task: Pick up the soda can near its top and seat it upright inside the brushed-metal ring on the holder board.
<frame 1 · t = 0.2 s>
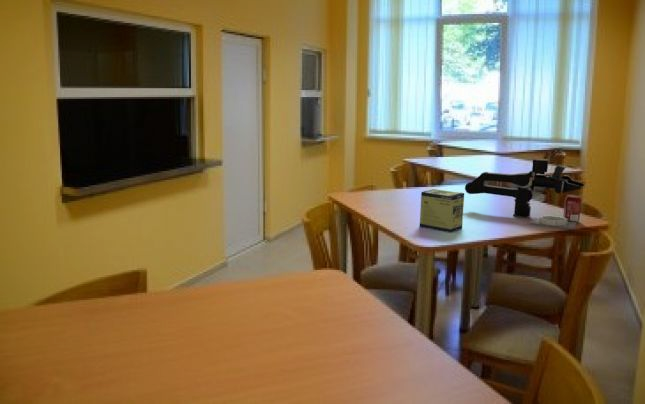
hand: (582, 186, 263), 17 cm above the table, tool horizontal, fingers open, 9 cm apart
holder: (552, 224, 262), on the table
protein box: (440, 228, 253), on the table
soda can: (570, 221, 268), on the table
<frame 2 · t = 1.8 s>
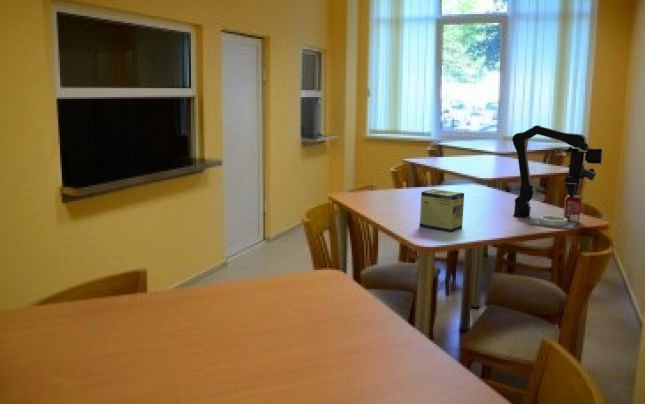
hand: (573, 196, 266), 12 cm above the table, tool pointing down, fingers open, 9 cm apart
nothing on the table moved.
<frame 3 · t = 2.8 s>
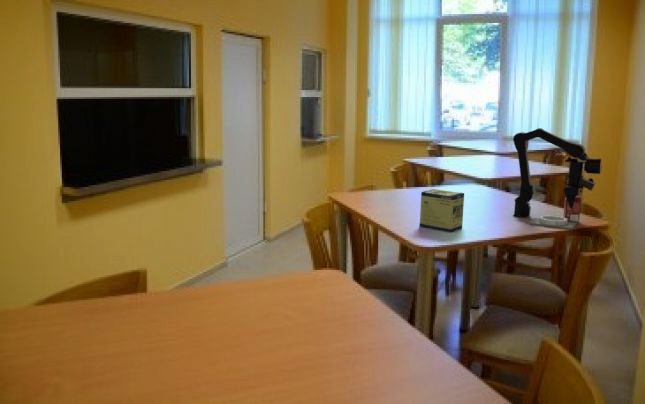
hand: (572, 206, 267), 7 cm above the table, tool pointing down, fingers closed on soda can, 7 cm apart
soda can: (570, 221, 268), on the table, touching gripper
everything else where it was.
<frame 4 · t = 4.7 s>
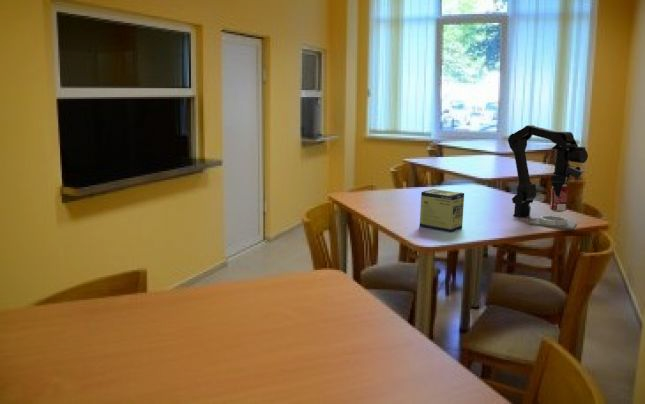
hand: (559, 195, 260), 13 cm above the table, tool pointing down, fingers closed on soda can, 7 cm apart
soda can: (557, 211, 262), point 6 cm above the table, touching gripper
everything else where it was.
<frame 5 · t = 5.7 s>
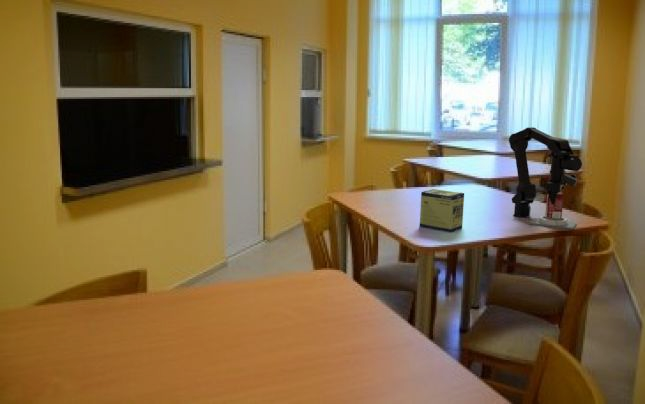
hand: (554, 203, 260), 10 cm above the table, tool pointing down, fingers closed on soda can, 7 cm apart
soda can: (553, 219, 261), point 2 cm above the table, touching gripper
everything else where it was.
when the fingers open (8 cm above the table, at t = 6.5 s): soda can drops 1 cm, resting in holder.
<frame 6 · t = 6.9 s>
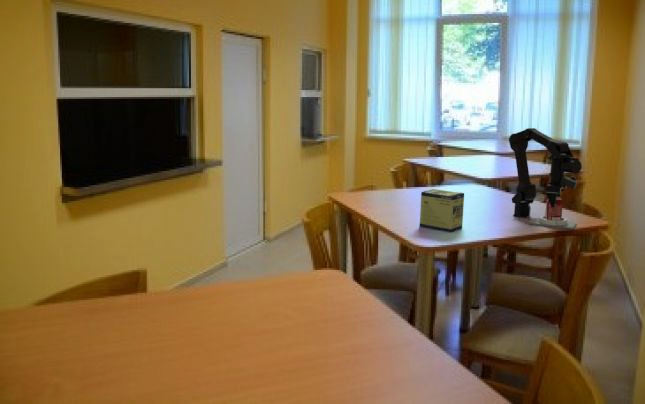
hand: (554, 205, 260), 8 cm above the table, tool pointing down, fingers open, 9 cm apart
soda can: (552, 224, 262), resting in holder
everything else where it was.
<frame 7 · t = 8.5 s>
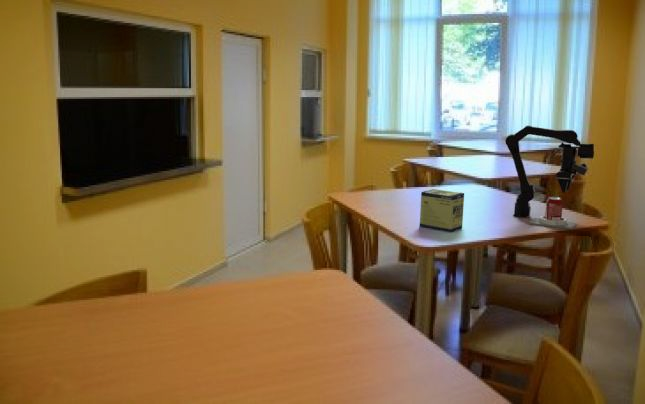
hand: (565, 191, 270), 13 cm above the table, tool pointing down, fingers open, 9 cm apart
nothing on the table moved.
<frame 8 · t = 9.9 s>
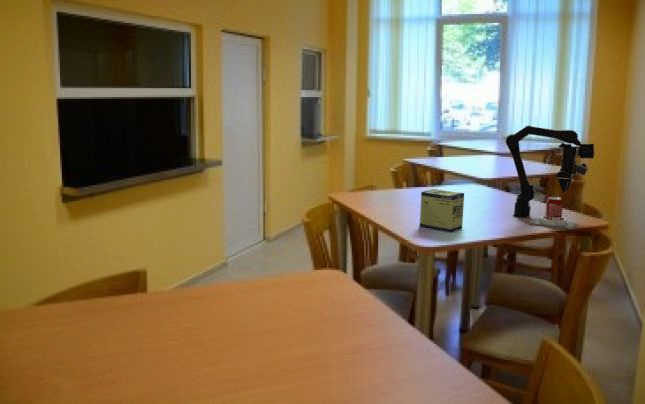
hand: (565, 191, 271), 13 cm above the table, tool pointing down, fingers open, 9 cm apart
nothing on the table moved.
at the end: soda can 0.1 cm from the holder (horizontally); soda can tilted 0°; soda can resting in holder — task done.
